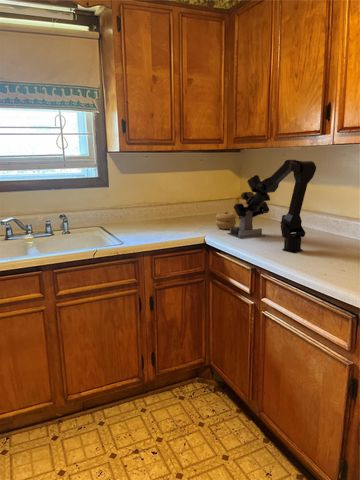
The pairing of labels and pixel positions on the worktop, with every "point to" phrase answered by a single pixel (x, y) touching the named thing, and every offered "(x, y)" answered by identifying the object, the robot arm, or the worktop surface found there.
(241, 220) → the gray rectangular block
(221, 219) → the pot
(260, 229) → the bracket
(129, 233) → the worktop surface
